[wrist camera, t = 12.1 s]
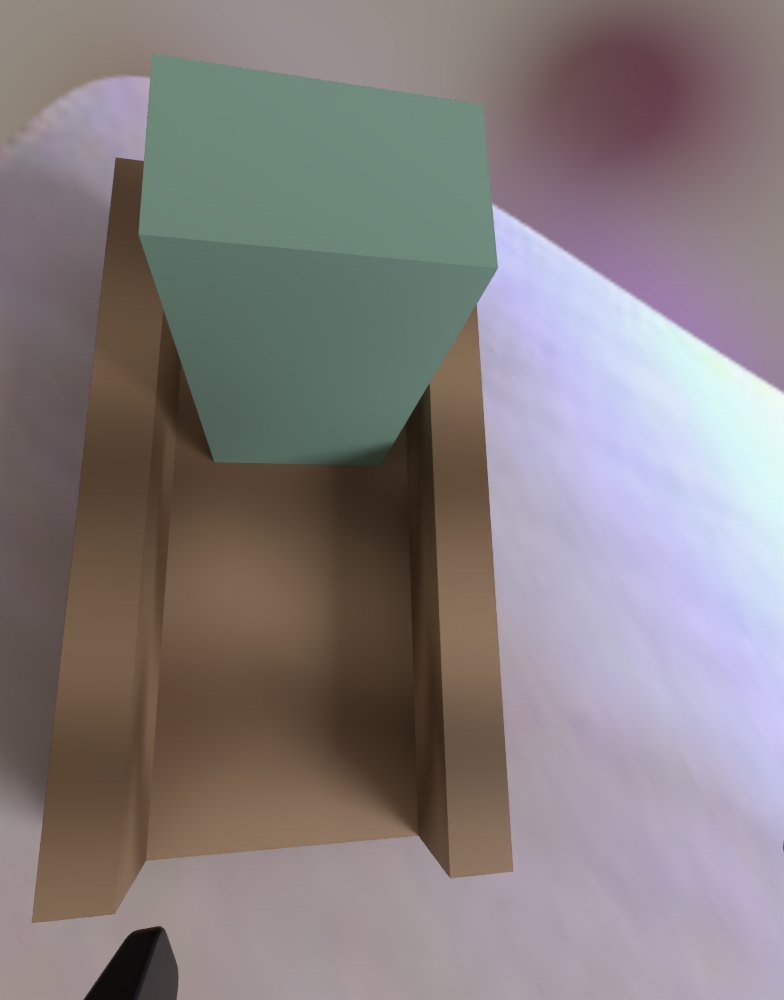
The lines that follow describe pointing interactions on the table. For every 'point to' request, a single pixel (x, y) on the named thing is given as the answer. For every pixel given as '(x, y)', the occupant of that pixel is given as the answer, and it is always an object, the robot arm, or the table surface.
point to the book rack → (266, 628)
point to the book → (310, 252)
